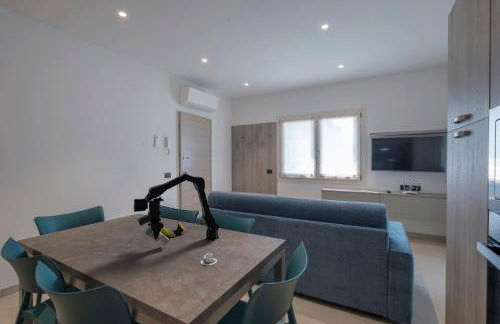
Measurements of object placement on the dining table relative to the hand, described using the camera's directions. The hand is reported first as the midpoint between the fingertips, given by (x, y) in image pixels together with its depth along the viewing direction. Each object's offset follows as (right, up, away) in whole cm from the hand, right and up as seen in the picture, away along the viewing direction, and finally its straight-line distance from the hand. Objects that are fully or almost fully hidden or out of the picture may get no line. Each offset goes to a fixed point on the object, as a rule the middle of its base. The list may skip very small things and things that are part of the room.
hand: (155, 238), depth 126 cm
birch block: (+5, -4, +3) cm, 7 cm away
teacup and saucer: (+34, -7, -13) cm, 37 cm away
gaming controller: (+2, -6, +25) cm, 26 cm away
